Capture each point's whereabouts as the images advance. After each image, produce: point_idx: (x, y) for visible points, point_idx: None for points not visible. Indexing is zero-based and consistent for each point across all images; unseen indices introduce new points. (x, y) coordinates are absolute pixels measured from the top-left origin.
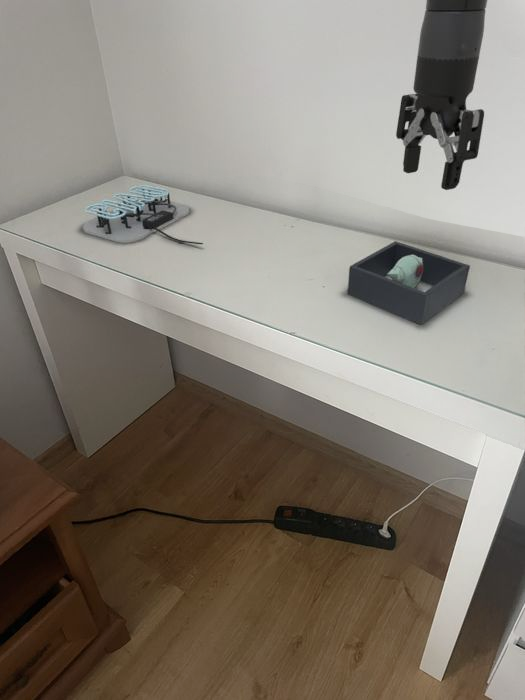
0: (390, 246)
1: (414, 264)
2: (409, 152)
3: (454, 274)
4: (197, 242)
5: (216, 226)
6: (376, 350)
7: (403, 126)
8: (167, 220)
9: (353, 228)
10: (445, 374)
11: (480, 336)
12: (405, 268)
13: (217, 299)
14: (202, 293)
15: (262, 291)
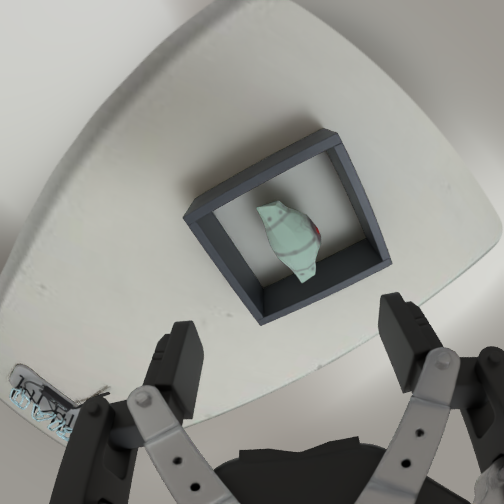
0: (205, 237)
1: (316, 248)
2: (193, 403)
3: (357, 184)
4: (104, 393)
5: (52, 358)
6: None
7: (131, 471)
8: (54, 392)
9: (45, 203)
10: (452, 262)
11: (426, 182)
12: (312, 261)
13: (226, 403)
14: (210, 408)
15: (221, 372)
